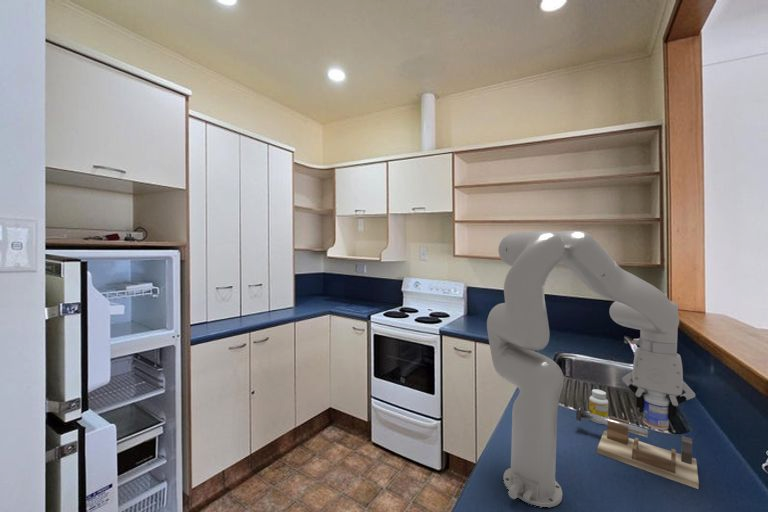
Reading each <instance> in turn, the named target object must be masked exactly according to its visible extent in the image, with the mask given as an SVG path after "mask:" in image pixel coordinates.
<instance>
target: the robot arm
mask: <svg viewBox="0 0 768 512" xmlns="http://www.w3.org/2000/svg"><path fill="white" fill-rule="evenodd" d="M498 254H499V258H500V259H501V261H503V263H505V264H506V265H508V266H511V267H510V269H509V271H507V274H506V276H505V279H504V284H503V295H504V302H502V303H498V304H496V305H494V306H493V307H492V308H491V309H490V311H489V314H488V317H487V320H486V329H487V336H488V343H489V349H490V355H491V360H492V364H493V367H494V370H495V371H496V374H498V376H499V377H501V378H502V379H503V380H505V381H507V382H509V384H512V385H513V386H514V387H516V388H518V390H519V393H518V396H517V397H516V399H515V401H514V402H513V405H512V412H511V413H512V415H511V422H512V423H511V449H510V450H511V452H510V467H509V468H507V469H506V470H504V473H503V478H502V479H503V480H504V481H503V480H502V481H503V485H504V484H505V485H504V487H505V486H506V487H507V488H506V487H505V488H506V490H507V489H508V490H509V491H508V490H507V494H508V496H509V497H510V498H511V499H513V500H516V499H517V497H518V498H520V499H522V500H524V501H526V502H528V503H531V504H534V505H536V506H540V507H539V508H542V507H548V508H552V507H553V508H554V507H556V506H559V504H560V503H561V502H562V501H563V489H562V486H561V485H560V484H559V482H558V481H557V480H556V464H557V463H556V462H557V438H558V437H557V434H558V433H557V432H558V431H557V428H558V427H557V426H558V410H559V402H560V398H561V394H562V391H563V387H564V374H563V371H562V369H561V367H560V366H559V364H557V363H556V361H554V360H553V359H552V358H550V357H549V356H546V355H544V354H542V353H539V352H537V351H541V350H543V349H545V348H546V347H547V346H548V344H549V341H550V326H549V319H548V313H547V306H546V300H545V299H546V298H545V285H546V282H547V280H548V277H549V276H550V274H551V272H552V271H553V270H554V269H555V268H556V266H557V265H563V266H566V267H567V268H569V270H571V271H572V272H573V273H574V275H575V276H576V277H578V279H579V280H580V281H581V282H582V283H583V284H584V285H585V287H587V289H589V290H590V291H591V292H593V293H595V294H597V295H599V296H601V297H604V298H606V299H609V300H612V301H613V302H612V303H611V305H610V307H609V311H608V312H609V316H610V318H611V319H612V321H613V322H615V323H616V324H618V325H620V326H622V327H626V328H630V329H633V330H640V331H639V333H640V334H639V335H640V336H639V338H633V340H632V342H633V344H635V345H638V346H639V347H637V348H636V349H635V353H634V358H633V365H632V371H630V372H629V373H627V374H626V375H624V376H623V377H622V378H621V381H622V383H624V384H625V385H626V386H627V387H628V388H629V389H630V390H631V391H632V393H634V395H635V396H636V408H638V412H639V413H641V414H643V397H644V394H643V392H644V391H645V390H646V391H647V390H651V391H656V392H660V393H665V394H667V395H669V396H668V397H669V399H670V400H669V402H670V404H669V421H671V422H673V417H674V418H677V407H678V406H679V405H680V404H682V403H684V402H686V401H688V400H691V399H693V398H695V397H696V393H695V392H694V391H693V389H691V387H690V386H689V385H688V384H687V383H686V382H685V381H684V378H683V377H684V372H683V371H684V370H683V369H684V368H683V362H682V357H681V355H680V354H679V353H677V352H678V333H679V332H678V328H679V326H680V316H679V306H678V303H676V302H674V301H672V300H670V299H669V298H668V297H667V296H666V294H664V292H663V291H661V290H660V289H659V288H657V287H656V286H654V285H652V284H651V283H649V282H647V281H646V280H644V279H641V278H640V277H638V276H637V275H635V274H633V273H631V272H629V271H627V270H625V269H623V268H622V267H621V266H620V265H618V263H617V262H616V261H615V260H614V259H613V258H612V256H611V255H610V254H608V252H607V251H606V250H605V248H604V247H603V246H602V245H601V244H600V243H599V242H598V241H597V239H595V237H594V236H592V234H590V233H589V232H586V231H583V230H565V231H547V230H538V231H537V230H536V231H535V230H534V231H526V232H514V233H513V232H512V233H509V234H507V235H505V236H504V237H503V238H502V239H501V241H500V243H498ZM683 391H684V393H683ZM536 506H535V507H536Z"/></svg>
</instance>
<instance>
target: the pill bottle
mask: <svg viewBox="0 0 768 512" xmlns="http://www.w3.org/2000/svg"><path fill="white" fill-rule="evenodd" d="M646 392H647V393H645V394H643V396H644V397H643V412H642V422H643V424H645V425H646V426H648V427H651V428H653V429H655V430H660V431H664V430H668V429H669V424H670V420H669V404H670V400H669V399H668V398H667V396H668V394H665V393H660V392H656V391H651V390H647V389H646Z"/></svg>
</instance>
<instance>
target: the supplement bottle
mask: <svg viewBox="0 0 768 512" xmlns="http://www.w3.org/2000/svg"><path fill="white" fill-rule="evenodd" d="M588 402H589V403H588V412H589V413H592V414H596V415H599V416H602V417H606V418H609V400H608V399H607V392H605V391H603V390H601V389H598V388H597V389H595V388H594V389H592V390H591V395H590V396H589V398H588ZM592 422H594V423H596V424H598V425H599V424H600V425H603V424H602V423H598V422H595V421H592Z"/></svg>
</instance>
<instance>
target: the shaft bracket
mask: <svg viewBox="0 0 768 512" xmlns="http://www.w3.org/2000/svg"><path fill="white" fill-rule="evenodd" d="M608 418H609V419H613V420H616V421H620V422H623V423H626V424H630V421H629V420H625V419H622V418H618V417H617V416H613V415H609V416H608ZM606 426H607V430H604V431H603V433H602V436H601V438H600V440H599V443H598V445H597V448H596V450H597V451H596V453H597V455H600V456H601V455H602V456H604V457H606V458H610V459H612V460H615V461H618V462H620V463H624V464H626V465H629V466H633V467H635V468H637V469H640V470H643V471H646V472H649V473H651V474H654V475H657V476H660V477H663V478H664V479H665V478H666V479H669V480H671V481H674V482H677V483H680V484H682V485H685V486H688V487H691V488H694V489H697V490H699V484H700V482H699V474H698V465H697V464H698V463H697V459H696V458H695V457H694V458H693V439H692V438H690V437H687V436H684V435H682V436H681V445H680V446H681V450H680V451H681V452H680V453H678V452H677V451H676V449H674V448H671V450H668V449H665V448H661V447H660V446H655V445H652V444H649V443H646V442H643V441H640V440H639V437H634V439H633V438H630V437H629V433H630V432H628V426H626V425H623V424H619V423H616V422H612V421H609V420H608V425H606Z"/></svg>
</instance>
